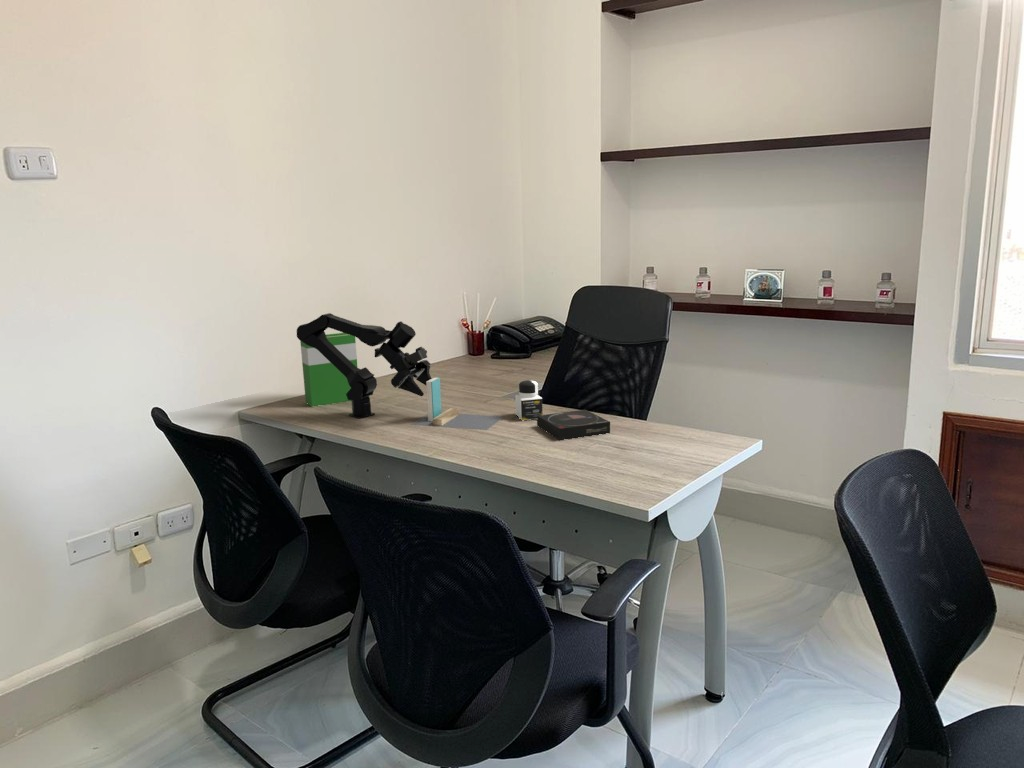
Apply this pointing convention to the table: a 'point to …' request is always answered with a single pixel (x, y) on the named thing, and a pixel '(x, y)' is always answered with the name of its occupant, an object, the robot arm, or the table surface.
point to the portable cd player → (573, 424)
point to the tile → (433, 398)
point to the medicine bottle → (528, 401)
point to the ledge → (446, 416)
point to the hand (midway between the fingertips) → (429, 392)
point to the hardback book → (327, 371)
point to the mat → (464, 421)
